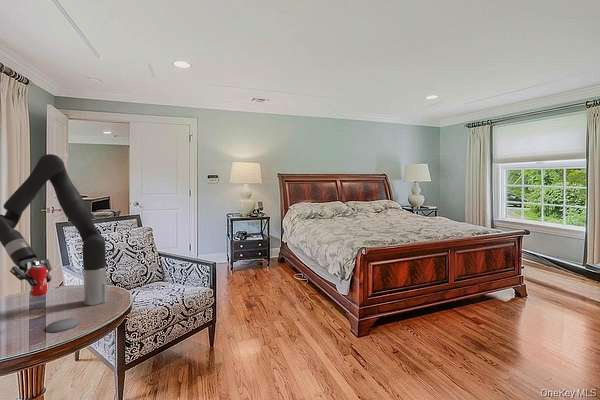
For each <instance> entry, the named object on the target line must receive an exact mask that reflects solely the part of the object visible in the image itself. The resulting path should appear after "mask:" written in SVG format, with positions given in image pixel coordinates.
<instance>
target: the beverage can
mask: <svg viewBox="0 0 600 400" xmlns="http://www.w3.org/2000/svg"><path fill="white" fill-rule="evenodd" d="M30 274H31V277H32V278H33V279H35V280H36V282H37V285H36V286H34V287H33V286H31V285H30V294H31V296H32V297H34V298H36V297H37V298H38V297H41V296H45V295H47V292H48V283H47V272H46V266H45V265H42V264H41V265H36V266H32V267H31V269H30Z"/></svg>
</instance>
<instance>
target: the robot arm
mask: <svg viewBox="0 0 600 400" xmlns="http://www.w3.org/2000/svg"><path fill="white" fill-rule="evenodd" d="M48 181H49V182H50V184H51V185H52V187H53V190H54V192H55V196H56V198H57V202H58V204H59V207H60V208H61V210H62V212H63V213H64V215H65V217H66V218H67V219H68V221H69V222H70V224H72V225H73V226H74V228H75V229H76V230H77V232H78V233H79V235H80V238H81V240H82V241H81V242H82V265H83V300H84V305H85V306H94V305H95V306H96V305H101V304H104V303H105V304H106V302H107V300H108V280H107V268H106V265H107V263H106V262H107V259H106V258H107V257H106V256H107V255H106V245H107V244H106V240H105V238H104V237H103V236H102V234H101V233H100V231H99V230H98V228H97V227H96V225H95V223H94V221H93V218H92V215H91V213H90V211H89V209H88V207H87V204H86V202H85V200H84V198H83V197H82V195H81V194H80V192H79V191H78V189H77V188H76V186H75V185H74V184H73V182H72V180H71V179H70V176H69V174H68V171H67V169H66V167H65V162H64V161H63V159H62V158H61V157H59V156H58V155H56V154H51V153H48V154H47V153H46V154H44V155H42V156H40V158H39V159H38V161H37V163H36V165H35V167H34V168H33V170H32V172H30V174H29V176H27V178H26V179H25V180H24V182H23V183H22V184H21V185H20V186H19V187H18V188H17V189H16V190H15V191H14V192H13V194H11V195H10V197H9V198H8V199H7V200H6V201H5V202H4V204H3V209H4V210H6V212H5V214H0V244H1V245H2V247H3V248H4V249H5V253H7V255H8V256H9V258H10V259H11V261H12V262H13V264H14V265H15V266H14V265H13V266H12V267H11V268H10V269H9V272H10V273H11V274H12V275H13V276H15V277H16V278H17V279H18V280H19V281H23V280H25V281H27V282H28V284H29V286H30V287H31V286H33V287H34V286H36V285H37V282H36V280H35V279H33V278H32V277H31V274H30V269H31V267H32V266H36V265H45V266H46V272H47V284H48V283H50V282H51V281H52V276H51V275H50V272H51V270H52V266H51V263H50V261H49V260H50V259H48V258H46V259H44V260H41V259H40V258H39V257H38V255H37V254H36V252H35V250H34V249H33V248H32V246H31V245H30V244H29V242H28V241H27V240H26V239H25V238H24V236H23V235H22V234H21V232H20V231H18V230H16V229H15V228H16V227H17V225H18V224H19V222H20V219H21V217H22V215H23V213H24V212H25V210H26V209H27V208H28V206H30V204H31V203H32V202H33V200H34V199H35V198H36V196H37V195H38V193H39V192H40V190H41V189H42V188H43V187H44V185H45V184H46V183H47V182H48Z"/></svg>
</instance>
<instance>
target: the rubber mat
mask: <svg viewBox="0 0 600 400" xmlns="http://www.w3.org/2000/svg"><path fill="white" fill-rule="evenodd" d="M79 325H80V320H79V319H78V318H63V319H59V320H56V321H54V322H51V323H49V324H48V325H46V327H45V330H46V332H48V333H60V332H66V331H69V330H72V329H74V328H76V327H78V326H79Z"/></svg>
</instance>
